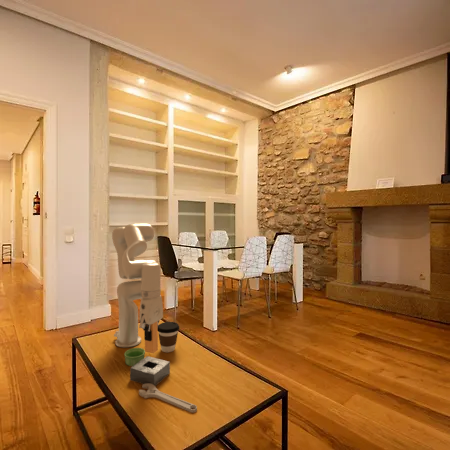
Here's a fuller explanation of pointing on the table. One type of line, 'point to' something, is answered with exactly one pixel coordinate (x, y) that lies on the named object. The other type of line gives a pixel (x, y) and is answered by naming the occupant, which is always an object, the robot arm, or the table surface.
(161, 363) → the grey square frame
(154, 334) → the orange square peg
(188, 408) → the adjustable wrench
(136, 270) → the robot arm
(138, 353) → the ramekin
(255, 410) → the table surface
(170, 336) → the coffee cup
